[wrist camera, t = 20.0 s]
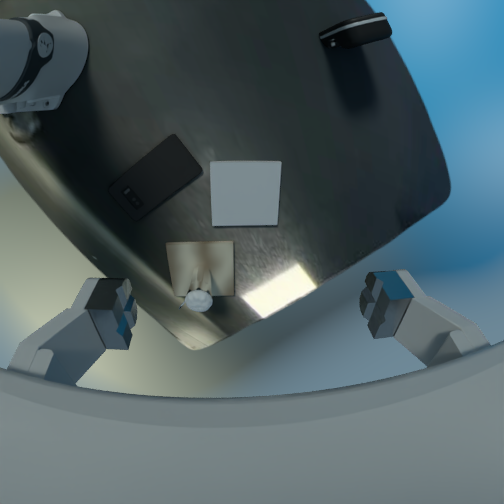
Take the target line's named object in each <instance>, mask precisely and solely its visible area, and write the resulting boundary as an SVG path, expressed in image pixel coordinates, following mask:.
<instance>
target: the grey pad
mask: <svg viewBox="0 0 504 504" xmlns="http://www.w3.org/2000/svg"><path fill="white" fill-rule="evenodd" d="M280 177H281V161H210V179H211V207H212V226H236V225H277V221H278V207H279V193H280Z"/></svg>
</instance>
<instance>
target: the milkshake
mask: <svg viewBox="0 0 504 504" xmlns="http://www.w3.org/2000/svg"><path fill="white" fill-rule="evenodd" d="M184 303H186V305H187V307H188V308H190V309H191V310H193V311H197V312H204V311H207V310H208V309H209V308H210V307H211V306H212V291H211V274H210V270H209V268H207V267H206V266H201V265H199V266H197V267H195V268H194V270H193V273H192V277H191V281H190V285H189V288H188V291H187V294H186V297H185V301H184V302H183V303H182V304H181V306H180V307H179V309H180V308H181V307H182V306H183V304H184Z"/></svg>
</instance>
